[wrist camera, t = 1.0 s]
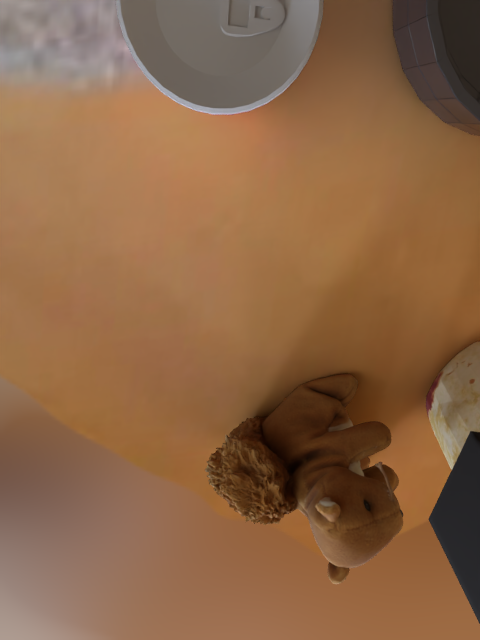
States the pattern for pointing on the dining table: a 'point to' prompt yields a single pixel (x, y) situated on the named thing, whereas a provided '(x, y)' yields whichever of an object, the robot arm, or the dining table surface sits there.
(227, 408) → the dining table surface
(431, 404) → the food model
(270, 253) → the dining table surface
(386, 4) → the dining table surface
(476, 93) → the bowl
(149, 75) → the canned food
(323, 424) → the stuffed squirrel
